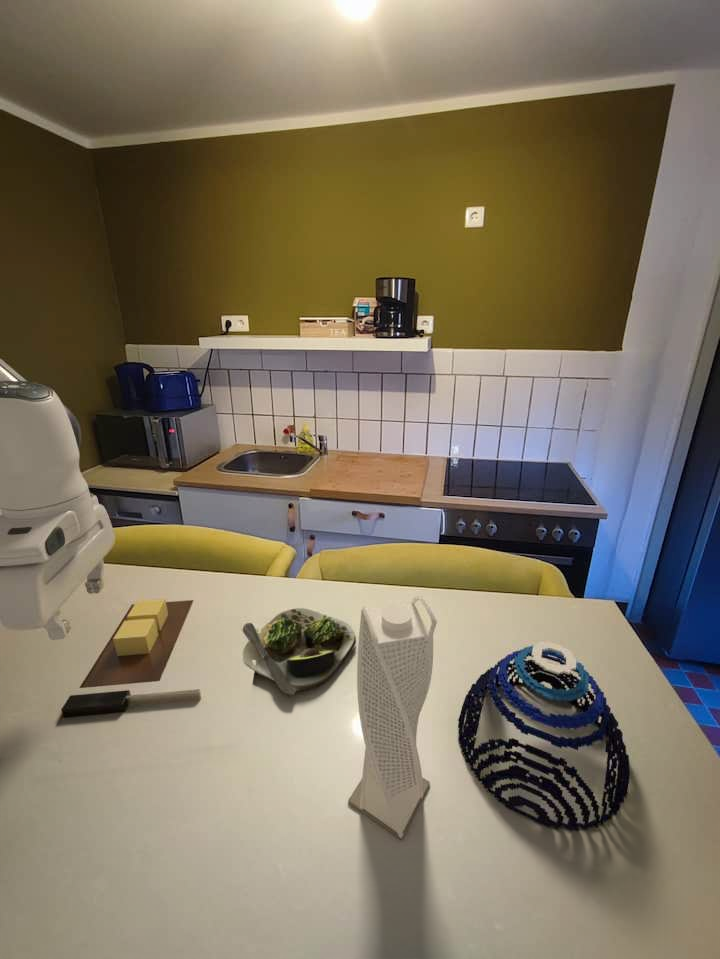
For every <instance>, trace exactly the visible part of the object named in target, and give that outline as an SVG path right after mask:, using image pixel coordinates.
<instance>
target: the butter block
mask: <svg viewBox="0 0 720 959" xmlns="http://www.w3.org/2000/svg"><path fill="white" fill-rule="evenodd" d="M157 637H158V630H157V626H156V621H155V618H154V619H141V620H128V621H124V622H123V624H122V625H121V627H120V629H119V630H118V632H117V633H116V635H115V637H114V638H113V641H114V644H115V648H116V652H117V656H126V655H138V654H149V653H150V651H151V649H152V647H153V645H154V643H155V641H156V639H157Z"/></svg>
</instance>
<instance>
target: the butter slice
mask: <svg viewBox="0 0 720 959" xmlns="http://www.w3.org/2000/svg"><path fill="white" fill-rule="evenodd" d="M166 602H167V601H166V598H157V599H143V600H136V601H135V603H134V604H135V605H134V606H133V608H132V609H131V611H130V613H129V614H128V616H127V619H128V620H141V619H154V618H155V621H156V626H157V630H158V631H161V629H162V627H163V624H164V622H165V620H166V618H167V616H168V610H167V605H166Z"/></svg>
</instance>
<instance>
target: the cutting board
mask: <svg viewBox="0 0 720 959" xmlns="http://www.w3.org/2000/svg"><path fill="white" fill-rule="evenodd" d="M193 603H194V599H189V600H176V601H175V600H174V601H166V605H167V610H168V616H167V618H166V620H165V622H164V624H163V627H162V629H161V631H158V637H157V639H156V641H155V643H154V645H153V647H152V649H151V651H150V653H149V654H138V655H126V656H117V652H116V648H115V644H114V641H113V638H114V637H115V635H116V633H117V632H118V630H119V629H120V627H121V625H122V624H123V622H124V621H128V619H127V616H128V614H129V613H130V611H131V609H132V608H133V606H134V605H135V603H132V604H131V605H130V607H129V608H128V610H127V612H126V613H125V614H124V616H123V618H122V620H121V621H120V623H119V624H118V626H117V627H116V629H115V631H114V632H113V634H112V635H111V637H110V638H109V640H108V642H107V643H106V645H105V646H104V648H103V649H102V651H101V653H100V654H99V655H98V657H97V659H96V661H94V662H95V663H94V664H93V665H92V667H91V669H90V670H89V671H88V674H86V676H85V678H84V679H83V681H82V683H81V685H80V686H79V689H85V688H96V687H107V686H108V687H109V686H118V685H129V684H140V683H152V682H160V681H161V679H162V677H163V674H164V673H165V669H166V667H167V665H168V662H169V660H170V658H171V655H172V654H173V653H172V652H173V650H174V649H175V646H176V643H177V641H178V639H179V637H180V634H181V631H182V630H183V627H184V624H185V623H186V619H187V617H188V615H189V613H190V610H191V608H192V605H193Z"/></svg>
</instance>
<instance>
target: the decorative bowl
mask: <svg viewBox="0 0 720 959" xmlns="http://www.w3.org/2000/svg"><path fill="white" fill-rule="evenodd" d="M528 657H531V658H533V659H527V658H528ZM549 661H551V662H556V663H559V664H554V663H551V662H549ZM511 662H512V663H511ZM572 672H574V673H577V675H578V676H575V675H574V674H573V673H572ZM510 676H511V678H510ZM578 677H580V678H578ZM514 678H515V679H514ZM520 680H521V681H522V682H521V681H520ZM543 682H544V683H546V684H549V685H550V686H551V688H550V687H547V686H545V684H543ZM589 685H590V689H591V690H592V692H591V690H590V689H589ZM514 686H525V687H528V688H530V690H532V691H534V692H535V694H538V695H541V696H542V698H545V699H547V700H551V701H553V700H556V701H557V702H558V701H559V702H561V701H563V702H567V701H568V703H570V705H573V706H575V707H576V708H577V709H580V710H582V712H581V711H579V712H577V713H576V714H575V713H574V714H572V715H568V714H565V713H563V714H560V713H558V715H557V714H555V713H552V712H550V713H549V715H547V714H544V713H543V711H541V709H540V708H538V707H535V706H534V704H532V703H529V702H527V700H526V699H524V698H521V697H520V694H519V693H518V691H516V690H514ZM498 688H500V690H501V691H502V693H504V695H503V696H504V697H505V698H506V700H508V701H510V702H509V705H512V706H514V708H515V709H518V711H519V712H521V713H523V715H524V716H526V717H530V720H532V721H535V722H537V723H539V724H543V725H546V726H548V727H551V728H554V729H557V728H559V729H561V730H562V729H563V728H564V729H567V730H569V731H571V729H572V730H575V731H576V729H577V730H579V729H581V728H582V727H583V728H584V729H585V728H586V729H587V728H588V726H590V725H593V724H595V725H596V726H597V728H598V729H595V730H593V731H592V733H590V734H589V733H588V734H587V735H584V736H581V737H580V736H578V735H577V736H574V737H573V738H572V737H570V736H568V738H567V737H564V736H562V735H560V737H559V736H557V735H554V734H551V733H549V732H546V731H544V730H541V729H538V728H535V727H533V726H530V725H528V724H525V722H524V721H523V719H522V718H519V717H517V713H516V712H513V711H511V710H510V708H508V705H506V703H505V702H504V701H503V697H502V696H501V695H499V692H500V691H499V690H498ZM488 690H489V692H488ZM487 692H488V695H490V696H489V697H490V699H491V701H492V704H493V705H494V708H496V710H497V711H498V713H500V716H502V717H504V719H506V721H507V722H509V723H510V724H513V726H514V727H515V729H516V730H518V731H519V732H520V733H521V734H523V735H526V736H529V735H531V736H534V737H536V738H538V739H541V740H544V741H546V742H549V743H550V745H552V746H555V747H557V748H559V749H562V748H565V749H568V748H570V749H573V750H576V751H579V748H582V747H585V746H587V747H590V746H593V743H596V742H597V743H598V742H599V741H600V742H604V740H605V739H604V735H605V736H606V737H607V738H608V739H607V740H605V747H604V751H605V753H607V757H606V769H605V778H604V784H603V792H602V798H601V807H603V809H602V811H601V814H599V813H600V804H598V800H596V795H594V791H592V788H590V786H589V785H588V784H587V783H586V782H585V780H584V779H583V777H581V776H580V774H579V773H578V769H576V767H575V766H574V765H571V766H568V761H566V759H565V758H563V757H561V756H560V757H559V758H558V757H555V756H553V754H552V753H550V752H548V751H545V750H543V749H541V748H538V747H535V746H532V745H531V744H528V743H526V744H524V743H520V740H518V739H515V738H513V737H511V738H508V741H507V740H504V739H502V738H501V737H499V738H496V739H494V738H491V739H490V738H489V739H488V741H485V742H484V741H483V742H481V743H480V744H478V746H475V745H476V741H477V737H476V736H477V735H478V730H479V725H480V720H481V716H482V711H483V706H484V702H485V699H486V695H487ZM482 702H483V703H482ZM583 702H584V703H583ZM590 702H591V703H590ZM600 718H601V719H600ZM599 719H600V721H599ZM457 721H458V724H457V728H458V732H457V733H458V738H457V741H458V742H459V744H460V749H461V751H460V752H461V753H462V755H463V756H464V759H465V763H467V764H469V765H468V767H470V769H469V771H471V772H473V773H474V774H473V775H475V778H477V781H478V782H480V783H481V785H482V788H484V789H486V792H487V793H490V794H491V795H493V798H496V799H497V802H499V803H500V804H503V805H504V808H507V809H508V810H511V811H513V812H514V813H517V814H519V815H521V816H522V817H523V816H524V817H526V818H527V819H530V820H532V821H534V822H536V823H538V824H541V825H542V826H545V827H547V828H548V829H551V828H554V829H556V830H559V829H562V828H564V829H567V830H569V831H570V832H573V830H575V831H577V832H579V828H580V829H583V830H585V831H587V829H588V830H589V829H591V828H593V827H594V828H598V827H599V825H601V826H604V822H607V821H610V820H612V817H613V815H615V816H617V815H618V814H617V813H618V812H620V809H621V804H622V803H625V798H627V796H628V790H629V784H630V774H631V772H630V771H631V769H630V757H629V755H628V754H627V746H626V745H625V742H624V740H623V731H622V729H620V728H618V727H619V721H618V720H617V719H616V717H615V715H614V713H613V712H611V707H610V706H609V704H607V697H606V696H605V692H604V691H602V690H601V688H600V686H599V684H597V681H596V680H595V679H594V676H592V675H590V673H589V672H588V671H587V670H586V669H585V665H583V664H582V663H581V662H578V659H577V658H575V655H574V654H573V651H571V650H570V649H569V648H566V647H564V646H563V645H560V644H558V643H554V642H551V641H548V642H546V641H544V640H543V641H542V640H541V641H538V642H535V645H529V646H524V647H523V648H522V649H519V650H514V651H512V653H509V654H507V655H505V657H503V658H501V659H500V660H498V661H497V663H496V664H495V663H494V666H493V667H492V666H491V667H490V668H489V669H487V670H486V671H485V672H484V673H482V674H480V676H479V677H478V678H477V680H476V681H475V683H472V684H471V687H470V689H469V690H468V692H467V694H466V695H465V697H464V700H463V703H462V706H461V710H460V714H459V716H458V719H457ZM496 743H497V744H496ZM503 747H504V750H503V754H498V753H490V752H492V751H493V752H494V751H498V750H500V749H501V748H503ZM513 747H514V748H517V749H518V748H521V749H524V752H525V753H528V754H531V755H533V756H535V757H538V758H540V759H543V760H545V761H547V763H548V764H551V765H552V767H550V766H548V765H545V764H543V763H540V762H538V761H535V760H532V759H531V758H528V757H526V756H523V753H521V752H519V751H517V750H514V751H513ZM487 753H488V756H487V758H485V759H483V758H481V759H480V756H484V755H487ZM514 757H515V758H514ZM479 760H480V761H479ZM510 762H513V763H515V764H511V765H509V766H508V768H506V767H505V768H503V769H500V770H499V769H498V770H495V771H494V769H493V770H492V769H490V767H492V766H493V765H495V764H496V765H500V763H502V764H505V763H506V764H507V763H510ZM519 762H521V763H522V765H523V766H526V767H528V768H531V769H532V770H536V771H538V772H541V773H543V774H544V775H547V776H550V775H552V776H553V779H550V778H548V777H546V776H543V775H539V776H538V775H535V774H533V773H531V772H530V770H529V769H527V768H524V767H521V765H520V766H519V765H517V764H518V763H519ZM476 764H477V766H476V767H474V765H476ZM559 766H561V767H563V771H561V769H560V768H559ZM487 769H490V771H489V773H487V774H486V773H485V774H484V775H483V776H482V772H484V771H485V770H487ZM564 772H565V774H566V775H568V776H570V778H571V779H575V782H576V783H577V787H576V786H573V785H572V786H571V787H570V785H571V781H570V780H568V779H566V777H565V776H564ZM507 780H510V781H513V780H514V781H515V780H518V781H520V782H516V783H515V782H508V783H503V784H500V786H496V785H497V782H499V783H500V782H502V781H507ZM554 781H555V782H554ZM528 784H530V785H533V786H535V787H537V788H534V787H531V786H529V785H528ZM559 784H560V786H561V787H563V788H565V791H567V793H568V794H570V797H573V798H574V803H575V804H576V805H577V806H579V810H581V811H580V816H582V822H583V823H581V822H578V820H579V818H578V817H576V816H577V813H576V812H575V808H573V807H572V805H571V804H570V802H568V800H567V799H566V797H565V796H563V794H564V790H563V789H561V787H560V786H559ZM494 786H495V787H494ZM578 787H579V788H581V789H582V791H584V796H586V798H587V799H588V801H589V802H590V807H591V808H592V812H593V818H595V819H592V820H590V816H591V810H590V809H589V805H587V803H586V802H585V798H584V797H583V796H582V794H580V792H578ZM493 788H494V789H493ZM519 789H520V790H522V791H525V792H527V793H530V794H532V795H534V796H537V797H538V798H540V799H541V801H543V802H546V805H548V807H549V808H551V809H553V813H554V817H555V818H556V820H553V819H551V818H550V816H549V815H548V814H549V812H548V811H546V808H544V807H542V806H541V804H539V803H536V802H534V801H532V800H530V799H528V798H525V797H523V796H521V795H519V794H517V795H511V796H508V800H507V798H506V797H503V792H504V793H505V792H508V790H511V791H514V790H519ZM544 792H545V793H547V794H550V797H552V799H551V798H549V797H548V796H547V795H545V794H544ZM553 800H555V801H557V803H558V804H560V807H562V809H563V810H564V813H563V812H562V811H561V809H560V808H558V805H556V803H555V802H554V801H553ZM521 807H523V808H524V807H527V808H528V809H531V810H532V811H533V812H534V813H535V815H536V816H537V817H536V816H534V815H532V814H530V813H528V812H526V811H523V810H522V809H519V808H521ZM563 814H564V815H563ZM565 816H566V819H568V821H567V822H566V823H565V822H564V820H565Z"/></svg>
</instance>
